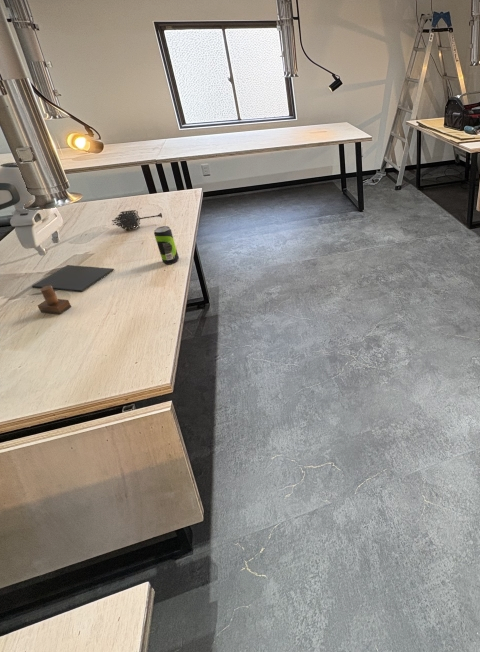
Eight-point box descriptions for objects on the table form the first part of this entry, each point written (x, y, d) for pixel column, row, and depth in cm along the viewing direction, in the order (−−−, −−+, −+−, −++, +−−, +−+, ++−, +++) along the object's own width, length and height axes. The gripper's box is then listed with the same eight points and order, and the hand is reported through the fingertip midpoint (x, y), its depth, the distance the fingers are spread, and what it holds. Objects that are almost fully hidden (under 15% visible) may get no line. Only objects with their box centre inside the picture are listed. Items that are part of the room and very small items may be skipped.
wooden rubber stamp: (40, 312, 142) (30, 290, 138) (52, 304, 146) (42, 283, 142) (60, 314, 141) (50, 292, 137) (71, 306, 145) (61, 285, 141)
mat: (32, 287, 157) (31, 285, 157) (68, 266, 171) (67, 264, 171) (82, 292, 153) (81, 290, 153) (114, 270, 167) (113, 268, 167)
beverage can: (182, 258, 175) (173, 226, 168) (172, 265, 170) (163, 232, 163) (169, 257, 176) (160, 225, 170) (159, 264, 171) (149, 231, 164)
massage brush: (163, 227, 205) (158, 209, 200) (113, 235, 197) (106, 217, 193) (164, 220, 212) (159, 203, 208) (116, 228, 205) (110, 210, 201)
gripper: (39, 201, 144) (54, 236, 150) (6, 224, 126) (24, 263, 132) (60, 199, 145) (73, 234, 151) (29, 221, 127) (46, 260, 133)
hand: (50, 248), depth 141 cm, fingers open, 8 cm apart
